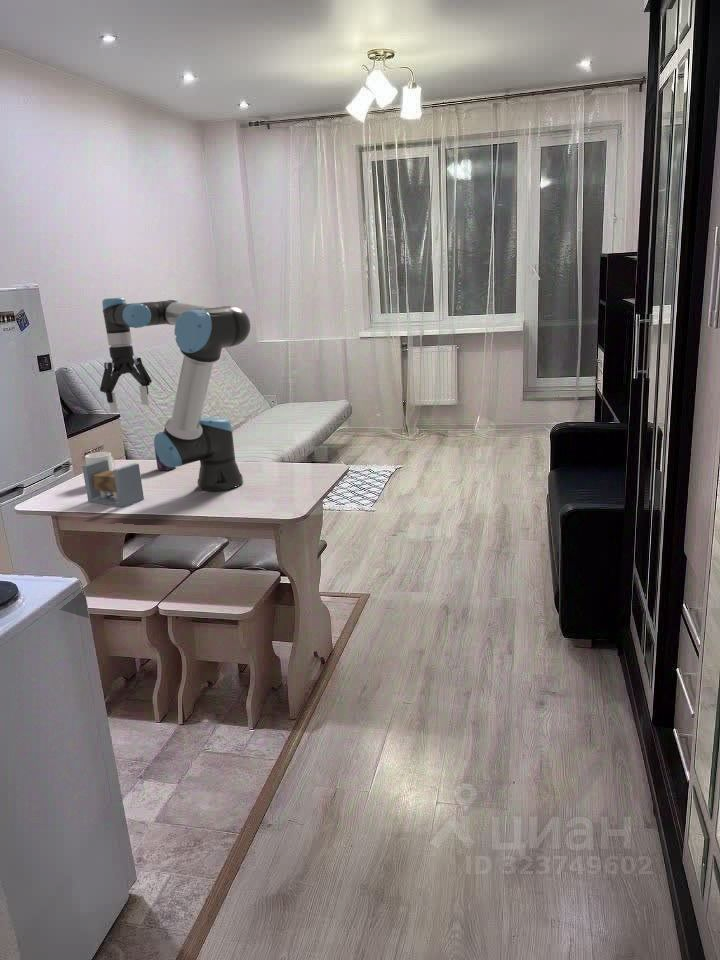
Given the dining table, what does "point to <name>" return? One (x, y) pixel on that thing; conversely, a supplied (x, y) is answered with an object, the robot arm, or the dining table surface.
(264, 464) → the dining table surface
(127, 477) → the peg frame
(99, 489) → the brown wooden block
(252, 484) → the dining table surface
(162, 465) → the beverage can
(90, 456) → the mug
